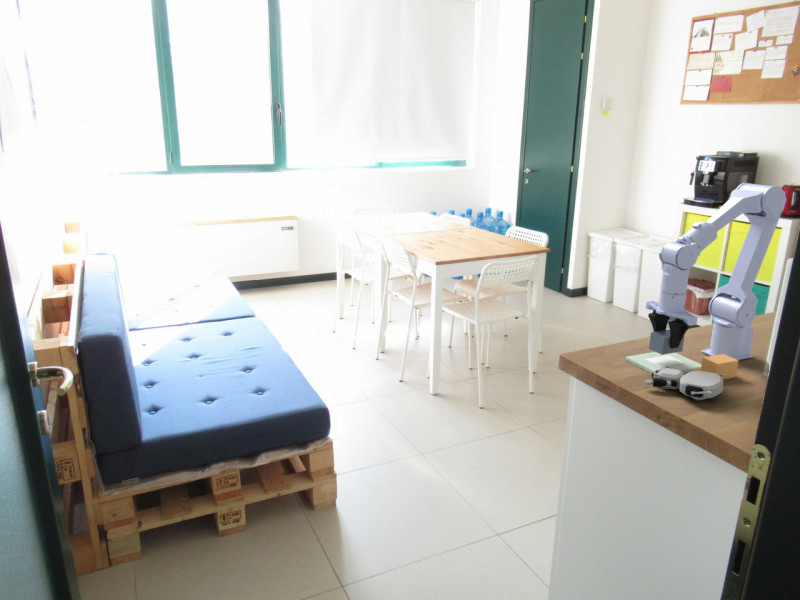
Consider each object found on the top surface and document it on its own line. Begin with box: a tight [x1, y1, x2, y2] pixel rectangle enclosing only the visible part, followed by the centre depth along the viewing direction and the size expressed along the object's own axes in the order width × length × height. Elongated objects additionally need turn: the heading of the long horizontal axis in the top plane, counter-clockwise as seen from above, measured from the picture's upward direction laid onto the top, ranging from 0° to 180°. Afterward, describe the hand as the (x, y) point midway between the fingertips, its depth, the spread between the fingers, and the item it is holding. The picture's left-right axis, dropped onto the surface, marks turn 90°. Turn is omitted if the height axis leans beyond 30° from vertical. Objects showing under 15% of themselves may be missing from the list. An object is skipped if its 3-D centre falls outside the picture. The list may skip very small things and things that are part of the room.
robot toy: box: [644, 367, 727, 401], centre depth 135 cm, size 12×4×15 cm
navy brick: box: [648, 328, 685, 355], centre depth 148 cm, size 6×4×4 cm
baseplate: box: [624, 351, 702, 374], centre depth 150 cm, size 14×12×1 cm
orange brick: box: [700, 354, 740, 380], centre depth 143 cm, size 6×4×4 cm
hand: (666, 344), depth 148 cm, fingers closed on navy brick, 4 cm apart
